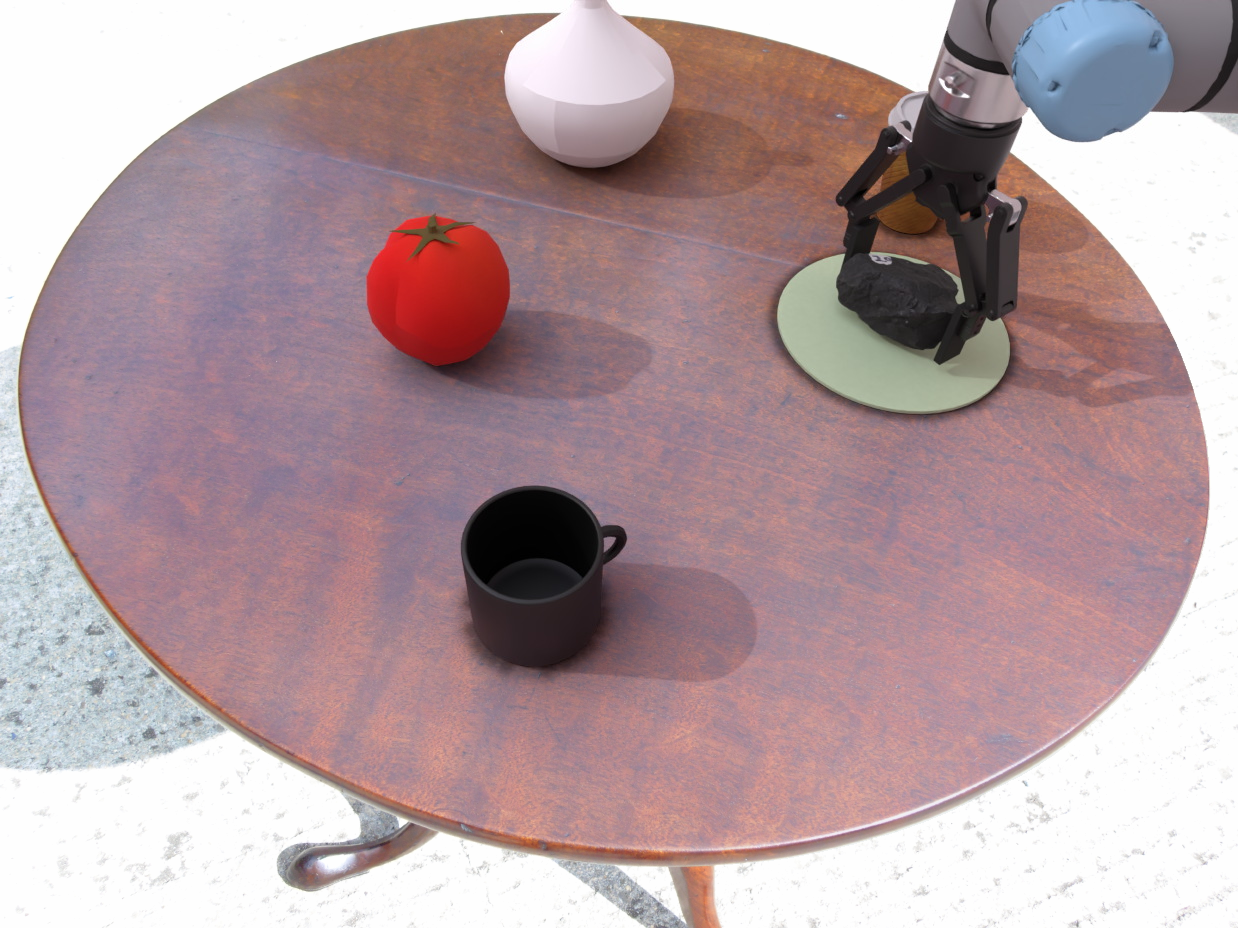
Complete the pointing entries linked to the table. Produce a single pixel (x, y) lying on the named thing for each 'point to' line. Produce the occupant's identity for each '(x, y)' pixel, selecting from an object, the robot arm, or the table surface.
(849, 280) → the rock
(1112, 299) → the table surface
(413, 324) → the tomato
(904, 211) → the disposable coffee cup
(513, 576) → the mug
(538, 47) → the vase
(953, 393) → the mat
